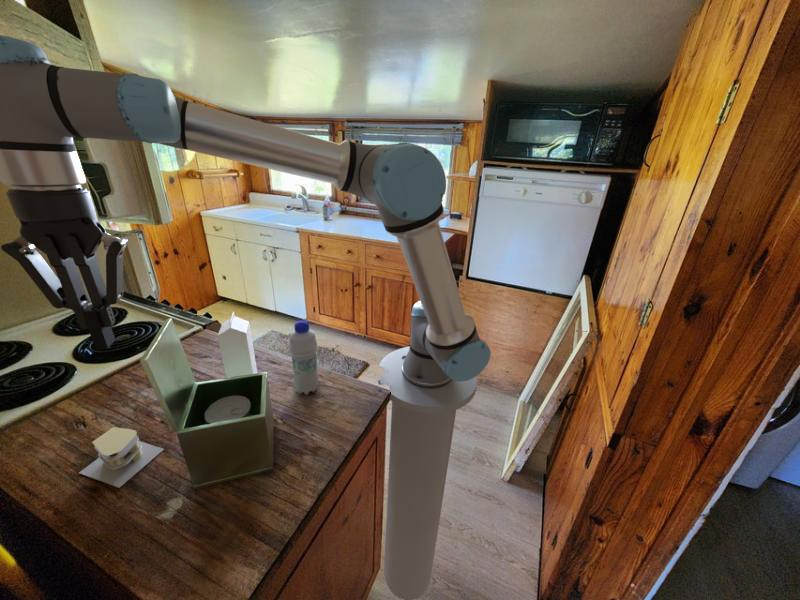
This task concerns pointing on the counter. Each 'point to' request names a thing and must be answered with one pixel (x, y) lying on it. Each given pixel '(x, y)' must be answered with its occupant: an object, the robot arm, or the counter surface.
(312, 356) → the bottle
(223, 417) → the canned tomato
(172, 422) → the lid
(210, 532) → the counter surface
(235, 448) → the bin
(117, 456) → the stacked layers on plate
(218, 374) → the counter surface
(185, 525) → the counter surface
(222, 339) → the milk
